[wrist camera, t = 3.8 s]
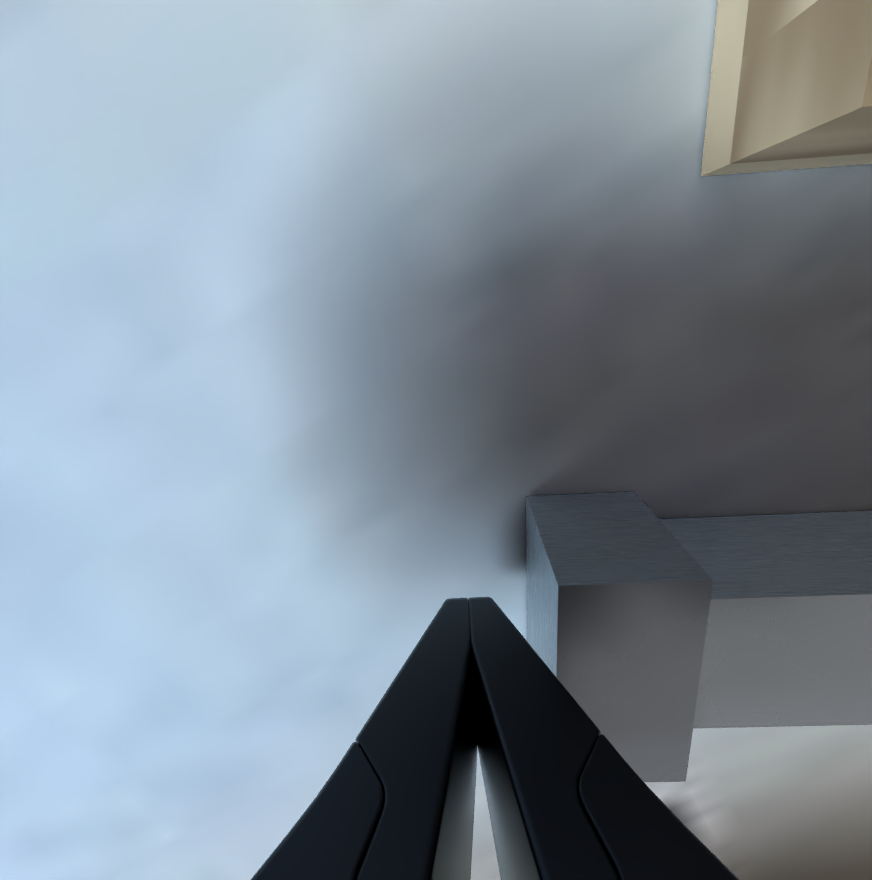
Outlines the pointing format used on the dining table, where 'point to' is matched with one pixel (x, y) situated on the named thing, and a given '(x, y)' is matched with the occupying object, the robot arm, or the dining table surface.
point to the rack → (789, 86)
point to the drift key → (699, 620)
